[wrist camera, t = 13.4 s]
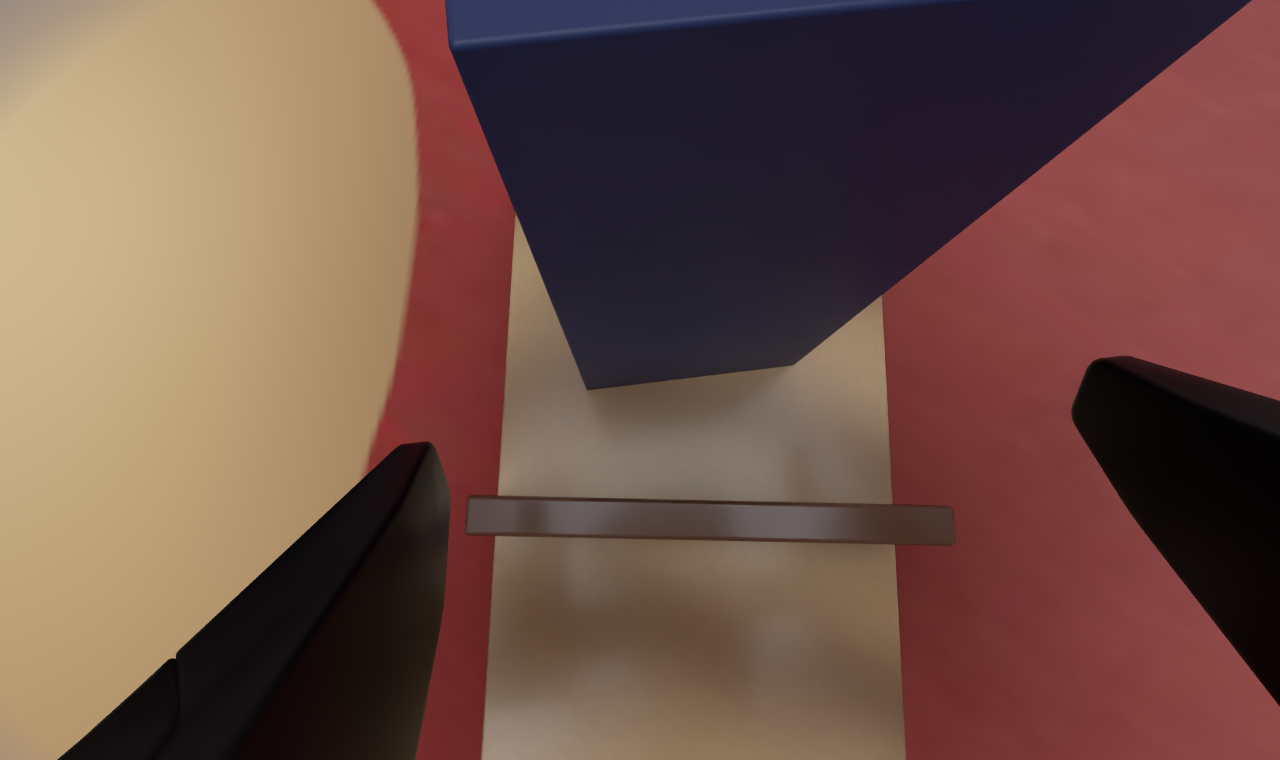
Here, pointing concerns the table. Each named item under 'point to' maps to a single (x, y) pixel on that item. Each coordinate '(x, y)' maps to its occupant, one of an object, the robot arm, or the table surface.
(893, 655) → the wooden stand
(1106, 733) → the table surface
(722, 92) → the navy carton
